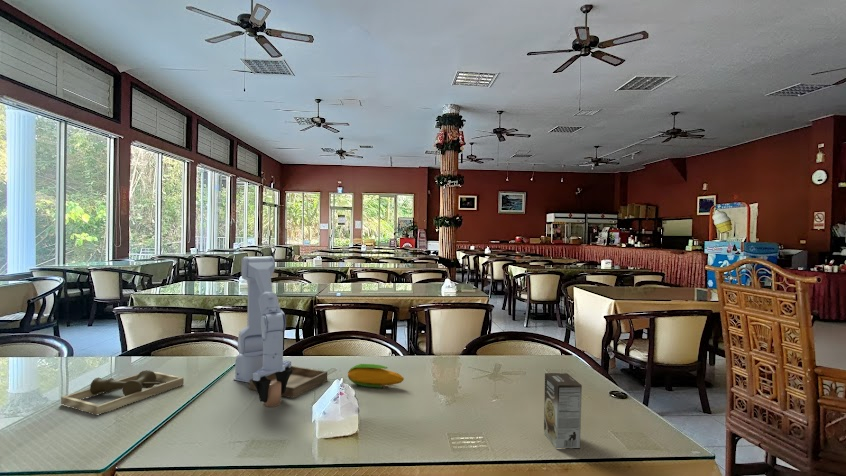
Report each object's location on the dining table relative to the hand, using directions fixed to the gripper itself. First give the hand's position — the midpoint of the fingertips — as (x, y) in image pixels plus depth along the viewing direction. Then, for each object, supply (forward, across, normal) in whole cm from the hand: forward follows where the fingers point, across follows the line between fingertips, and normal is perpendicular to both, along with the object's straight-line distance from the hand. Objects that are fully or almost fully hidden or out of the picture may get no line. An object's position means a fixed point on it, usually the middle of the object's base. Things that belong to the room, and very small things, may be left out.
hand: (272, 397), depth 134 cm
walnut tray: (+2, +15, +6) cm, 16 cm away
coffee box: (+2, +12, -83) cm, 84 cm away
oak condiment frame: (+2, -14, +46) cm, 48 cm away
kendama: (+2, -14, +46) cm, 48 cm away
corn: (+2, +27, -21) cm, 34 cm away
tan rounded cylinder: (+2, 0, 0) cm, 2 cm away
